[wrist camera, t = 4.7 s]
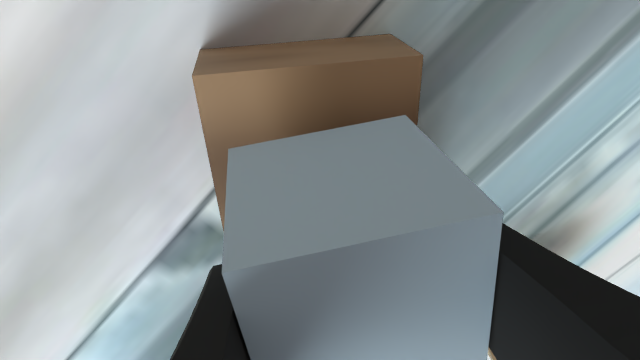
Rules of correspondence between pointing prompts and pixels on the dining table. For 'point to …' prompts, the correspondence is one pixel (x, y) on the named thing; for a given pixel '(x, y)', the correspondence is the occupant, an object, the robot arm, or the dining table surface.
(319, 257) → the light grey cube
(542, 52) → the dining table surface
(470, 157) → the dining table surface
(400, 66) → the walnut base
